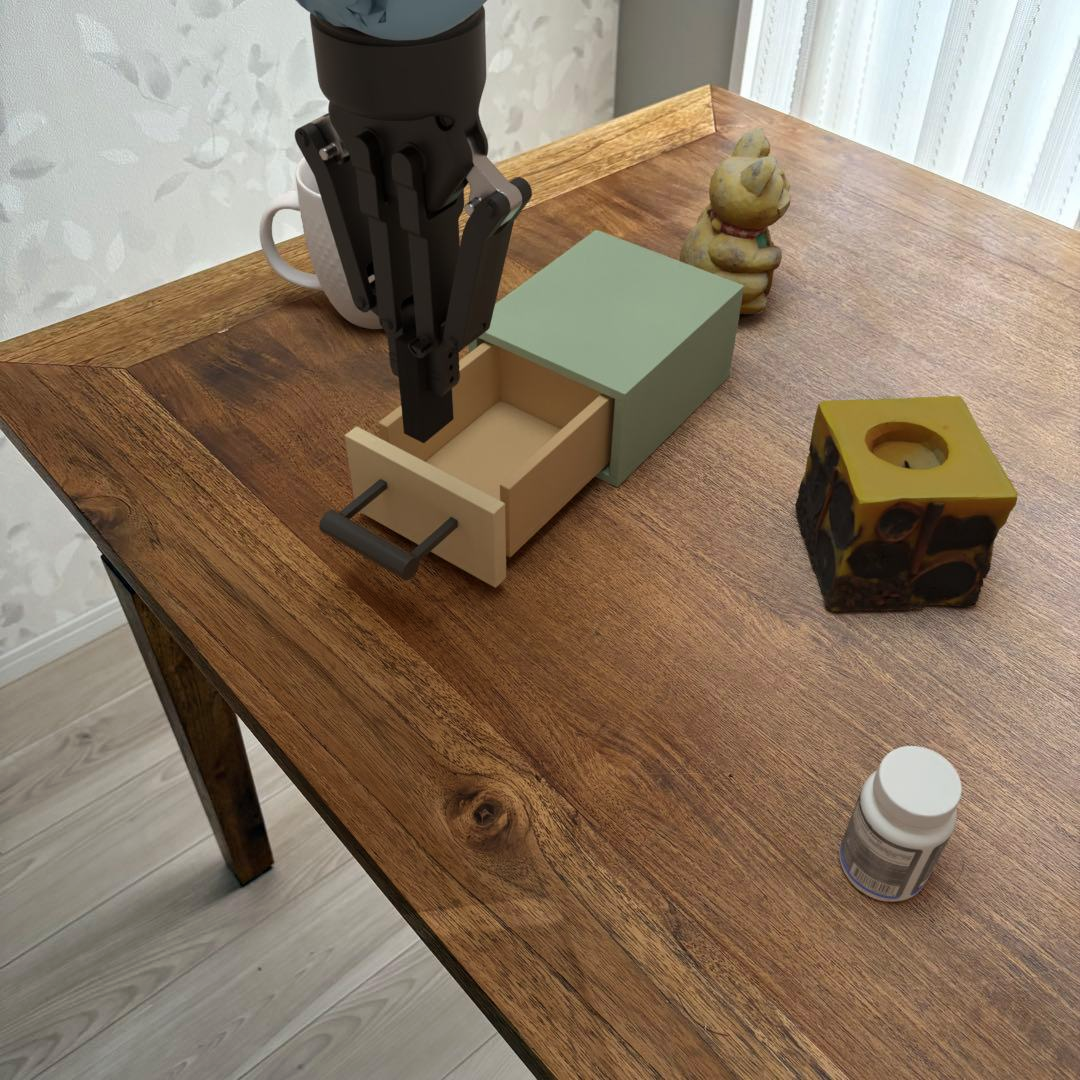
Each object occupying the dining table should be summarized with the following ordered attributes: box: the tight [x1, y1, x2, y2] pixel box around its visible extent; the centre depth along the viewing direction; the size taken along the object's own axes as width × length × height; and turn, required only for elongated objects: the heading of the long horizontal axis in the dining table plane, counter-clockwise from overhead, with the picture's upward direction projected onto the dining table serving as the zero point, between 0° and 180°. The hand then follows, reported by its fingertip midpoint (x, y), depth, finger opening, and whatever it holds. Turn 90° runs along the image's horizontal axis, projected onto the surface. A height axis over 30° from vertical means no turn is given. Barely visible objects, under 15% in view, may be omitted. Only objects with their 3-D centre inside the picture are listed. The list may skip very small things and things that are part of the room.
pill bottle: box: [838, 745, 963, 903], centre depth 57 cm, size 5×5×8 cm
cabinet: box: [468, 229, 744, 488], centre depth 85 cm, size 17×14×9 cm
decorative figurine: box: [679, 127, 792, 315], centre depth 93 cm, size 10×8×15 cm
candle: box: [794, 395, 1019, 612], centre depth 73 cm, size 10×10×10 cm
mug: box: [258, 156, 384, 330], centre depth 92 cm, size 15×11×13 cm
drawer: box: [318, 341, 615, 588], centre depth 75 cm, size 21×12×7 cm, turn 144°
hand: (428, 426), depth 64 cm, fingers closed
